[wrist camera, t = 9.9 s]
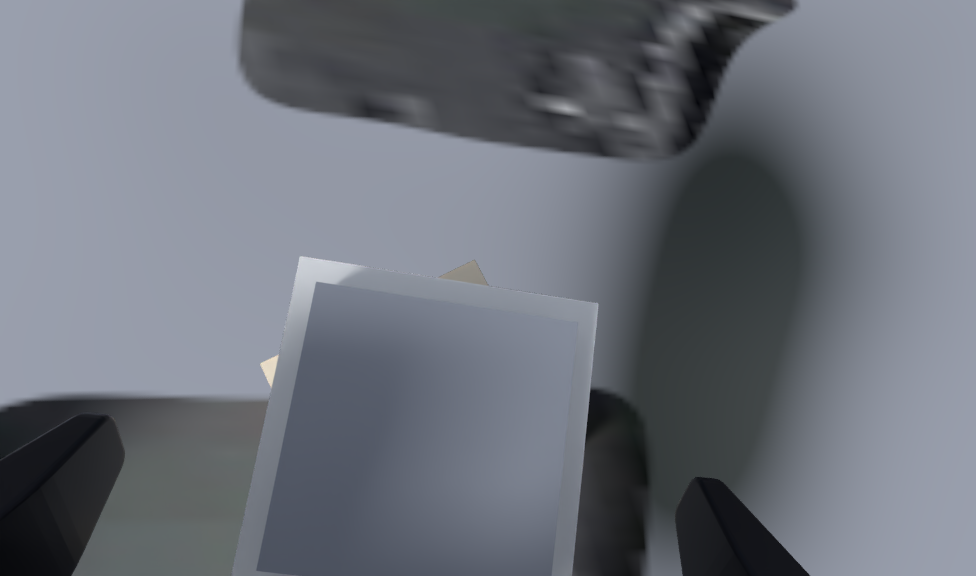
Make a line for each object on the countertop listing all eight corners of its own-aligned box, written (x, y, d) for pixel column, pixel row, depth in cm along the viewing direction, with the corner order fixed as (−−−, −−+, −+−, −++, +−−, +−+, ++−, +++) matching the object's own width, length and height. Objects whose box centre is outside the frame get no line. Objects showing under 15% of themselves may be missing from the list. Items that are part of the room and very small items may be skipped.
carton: (498, 513, 18) (579, 647, 8) (329, 491, 18) (208, 607, 8) (519, 346, 19) (612, 295, 10) (361, 322, 19) (289, 244, 9)
